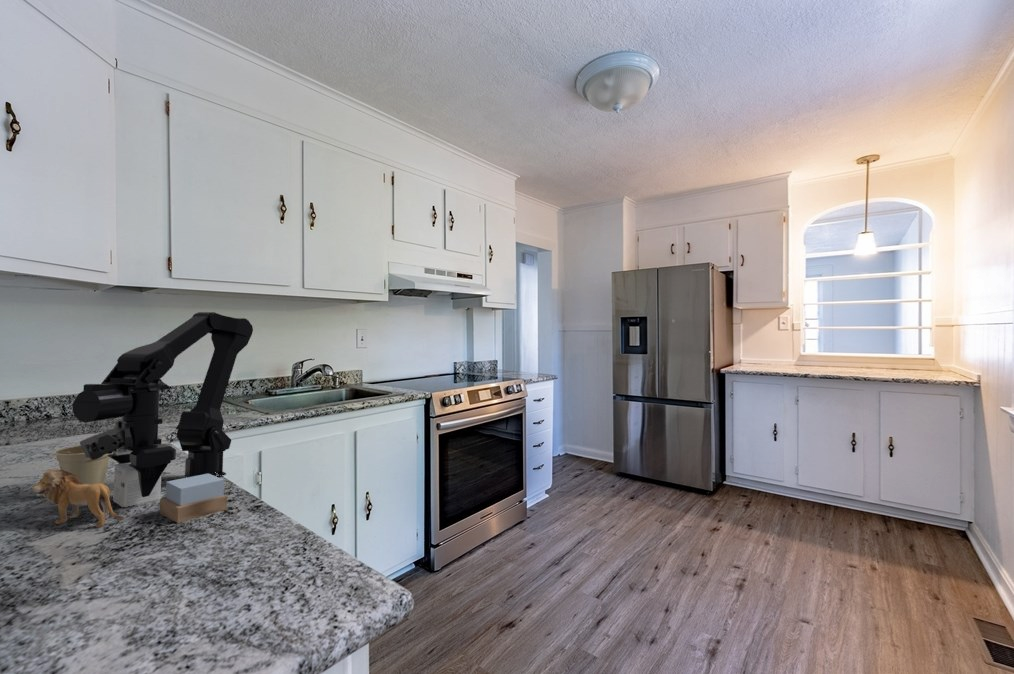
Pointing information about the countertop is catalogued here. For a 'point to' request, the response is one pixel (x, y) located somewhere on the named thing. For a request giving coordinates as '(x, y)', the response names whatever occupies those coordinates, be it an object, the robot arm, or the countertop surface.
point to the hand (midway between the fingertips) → (137, 492)
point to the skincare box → (131, 487)
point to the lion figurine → (75, 495)
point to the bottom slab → (192, 508)
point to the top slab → (194, 489)
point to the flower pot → (83, 465)
